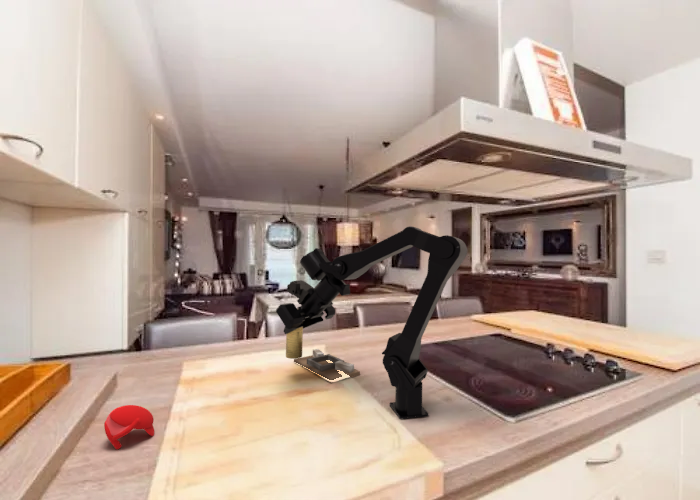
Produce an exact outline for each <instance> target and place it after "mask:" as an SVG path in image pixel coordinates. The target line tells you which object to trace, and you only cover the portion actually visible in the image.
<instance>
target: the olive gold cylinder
mask: <svg viewBox="0 0 700 500" xmlns="http://www.w3.org/2000/svg"><path fill="white" fill-rule="evenodd" d="M302 324H303V322H302ZM285 335H286V337H285V338H286V339H285V342H286V343H285V358H288V359H293V360H294V359H297V358H302V357H303V341H304V339H303V338H304V337H303V335H304V329H303V327H301V328H299V329H296V330H294V331H292V332H290V333H288V334H285Z"/></svg>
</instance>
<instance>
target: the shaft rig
mask: <svg viewBox="0 0 700 500" xmlns="http://www.w3.org/2000/svg"><path fill="white" fill-rule="evenodd" d="M326 360H330V361H332V362H333V363H328V362H327V361H326ZM294 362H296V363H298V364H300V365H302V366H304V367H306V368H308V369H310V370H311V371H313V372H315V373H317V374H319V375H321V376H323V377H325V378H327V379H329V380H334V379H336V378H339V377H342V375H341V374H339V373H338V372H339V371H337V370H340V371H343V372H344V373H345V374H347V375H349V376H350V377H351V378H354V377H357V376H360V375H361V371H360V370H358V369H355V364H354V363H350V362H346V361H345V360H343V359H341V358H339V357H336V356H335V355H331V354H330V353H329V354H324V352H323V351H322V350H321V349H319V348H317V349H316V348H315V349H312V355H308V356H302V357H300V358H296V359H293V363H294ZM296 363H295V364H296ZM298 364H297V365H298Z"/></svg>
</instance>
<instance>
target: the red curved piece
mask: <svg viewBox="0 0 700 500" xmlns="http://www.w3.org/2000/svg"><path fill="white" fill-rule="evenodd" d="M154 419H155V418H154V415H153V414H152V412H150V410H148V409H147V408H145V407H143V406H141V405H135V404H127V405H122V406H119V407H116V408H114V409H113V410H111V411H110V412H109V414H108V415H107V417H106V420H105V421H104V433H105V435H106V438H107V439H108V441H109V442H110V444H111V445H112V446H113V448H114V449H115V450H120V448H121V447H122V444H121V442H120V441H119V439H121V438H123V437H125V436H126V435H128V434H129V433H131V432H132V431H133V430H144V431H145V432H146V433H147V434H148V435H149V436H150V437H153V436H155V428H154V426H153V425H154Z"/></svg>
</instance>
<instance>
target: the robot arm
mask: <svg viewBox="0 0 700 500" xmlns="http://www.w3.org/2000/svg"><path fill="white" fill-rule="evenodd" d="M413 247H414V248H417V249H418V250H421V251H423V252H424V253H425V252H426V253H428V254H429V255H428V260H427V272H426V273H427V274H426V276H425V278H424V281H423V283H422V286H421V288H420V290H419V292H418V294H417V297H416V299H415V301H414V303H413V306H412V309H411V310H410V312H409V314H408V317H407V320H406V322H405V324H404V326H403V328H402V331H401V332H398V333H396V334H394V335H392V336H390V337H389V338H388V340H387V342H386V346H385V349H384V351H382V352H381V354H382V355H383V358H382V365H383V367H384V369H385V372H387V375H388V378H389V383H390V385H391V386H392V387H395V392H394V393H395V399H394V401H393V402H392V401H391V402H389V406H390V407H391V409H392V410H393V411H394V413H395V414H396V415H397V416H398V418H399V419H400V420H405V419H412V418H424V417H429V414H430V413H429V412H428V411H427V410H426V409H425V408H424V407H423V380H425V379H426V378H427V375H428V371H429V369H428V368H427V367H426V366H425V364H424V363H423V361H421V359H420V354H421V351H422V349H421V348H422V339H423V335H424V333H425V332H426V329H427V327H428V325H429V322H430V320H431V318H432V316H433V314H434V312H435V309H436V306H437V305H438V303H439V300H440V298H441V295H442V294H443V291H444V289H445V287H446V285H447V282H448V281H449V280H450V279H451V277H452V276H453V275H454V274H455V273H456V272H457V270H458V269H459V267H460V266H461V264H462V263H463V261H464V260H465V259H466V258H467V255H468V248H467V245H466V243H465V241H464V240H462V239H460V238H458V237H455V236H452V235H448V234H447V235H441V236H438V235H436V234H432V233H430V232H427V231H425V230H422V229H421V228H419V227H415V226H411V225H410V226H406V227H405V228H403V230H401V231H399V232H396V233H394V234H392V235H391V236H389V237H387V238H385V239H383V240H381V241H378V242H376V243H375V244H373V245H371V246H368V247H366V248H365V249H363V250H359V251H357V252H350V253H346V254H343V255H339V256H337V257H336V256H335V258H333V260H332V261H330V260H329V259H328V257H327V256H326V255H325V254H324V251H323V250H322V248H319V247H318V248H316V247H315V248H314V249H313V250H311V251H310V252H308V253H306V254H305V255H303V256H302V257H301V259H300V261H299V264H300V266H301V267H302V269H304V271H305V272H306V274H307V275H308V276H309V279H310V280H312V281H318V283H317V284H316V285H315V286H314V287H313V286H312V285H311V284H309V283H307V281H305V280H300V279H299V280H293V281H290V283H289V284H287V287H286V291H287V293H289V294H291V295H292V296H294V297H295V298H297V301H296V302H297V303H298V305H300V306H297V307H296V305H295V303H292V302H288V303H280V304H279V305H278V307H277V308H276V310H275V313H276V314H277V316H278V317H279V318H280V320H281V322H282V324H283V325H284V327H283V334H285V335H286V334H288V333H290V332H292V331H294V330H296V329H299V328H301V327H303V330H304V329H306V328H309V327H312V326H314V325H316V324H319V323H322V322H324V318H325V320H329V319H333V317H334V316H335V315H336V309H335V307H334V306H333V305H334V302H333V301H334V300H335V299H336V298H337V297H338V296H339V295H340V296H341V297H344V296H349V295H351V289H350V286H351V284H350V283H345V282H344V281H345V280H355V279H357V278H360V277H361V276H362V275H364V274H365V273H367V271H369V269H370V268H371V267H373V266H375V265H376V264H379V263H380V262H382V261H385V260H387V259H389V258H391V257H393V256H396V255H398V254H400V253H402V252H405V251H406V250H408V249H411V248H413ZM324 314H326V315H325V316H324ZM323 316H324V318H323ZM302 322H303V324H302Z"/></svg>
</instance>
